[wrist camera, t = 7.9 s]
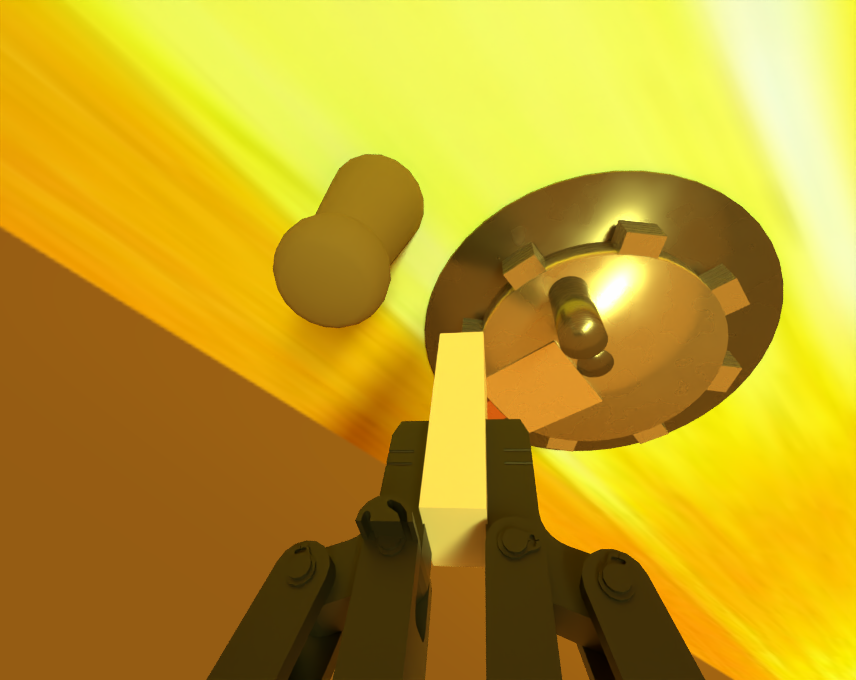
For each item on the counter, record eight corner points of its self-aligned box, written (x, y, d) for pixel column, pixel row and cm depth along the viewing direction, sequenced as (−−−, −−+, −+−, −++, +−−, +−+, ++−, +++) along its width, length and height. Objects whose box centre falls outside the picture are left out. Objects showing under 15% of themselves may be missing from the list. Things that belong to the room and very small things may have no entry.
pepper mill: (431, 164, 25) (399, 238, 16) (416, 257, 28) (384, 359, 19) (330, 144, 25) (243, 207, 16) (329, 240, 28) (257, 334, 19)
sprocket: (513, 452, 38) (518, 525, 33) (416, 288, 29) (399, 349, 24) (749, 398, 31) (806, 478, 26) (717, 164, 22) (793, 208, 17)
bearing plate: (439, 446, 40) (439, 451, 39) (405, 186, 26) (403, 189, 25) (718, 452, 36) (721, 457, 35) (855, 152, 22) (863, 155, 21)
